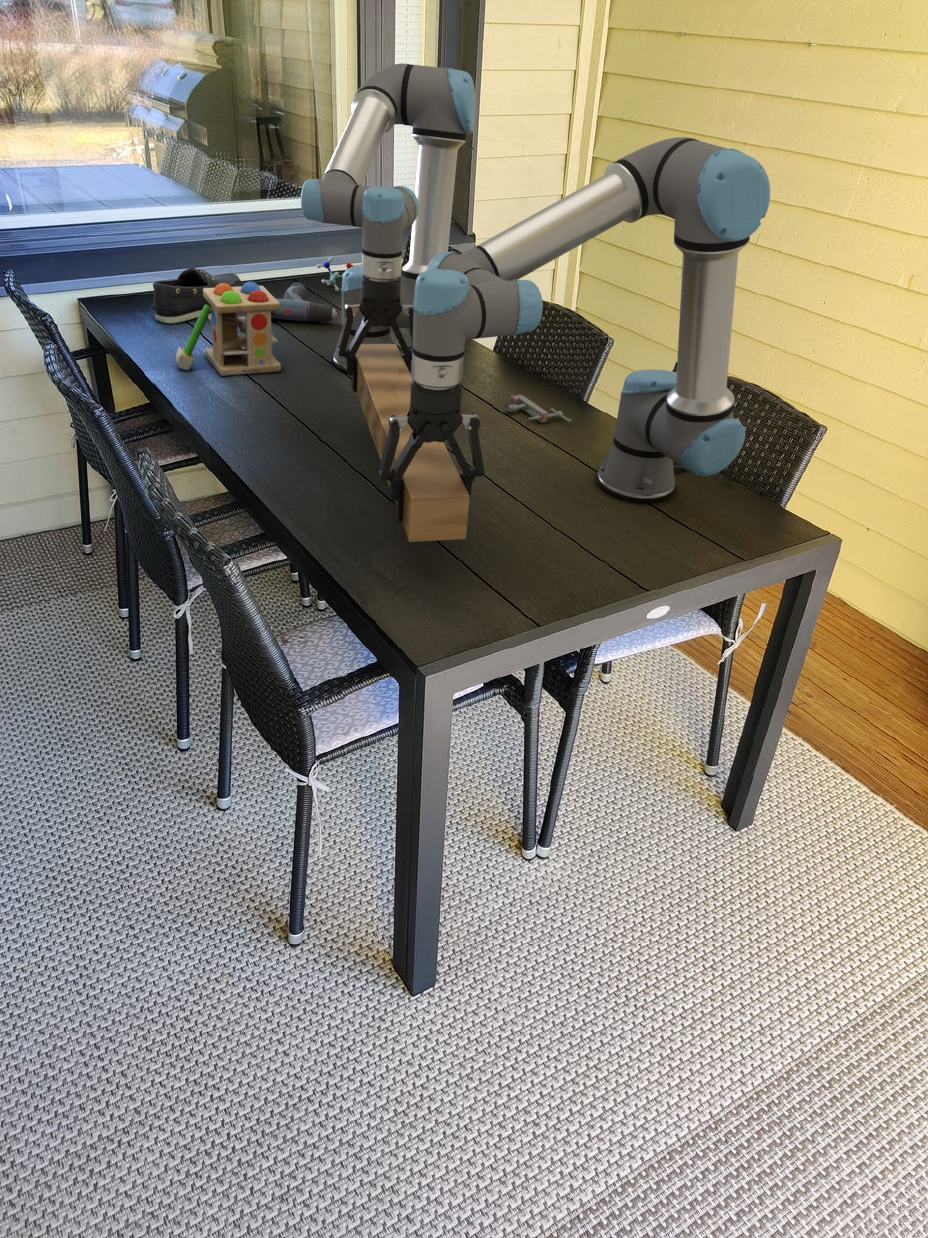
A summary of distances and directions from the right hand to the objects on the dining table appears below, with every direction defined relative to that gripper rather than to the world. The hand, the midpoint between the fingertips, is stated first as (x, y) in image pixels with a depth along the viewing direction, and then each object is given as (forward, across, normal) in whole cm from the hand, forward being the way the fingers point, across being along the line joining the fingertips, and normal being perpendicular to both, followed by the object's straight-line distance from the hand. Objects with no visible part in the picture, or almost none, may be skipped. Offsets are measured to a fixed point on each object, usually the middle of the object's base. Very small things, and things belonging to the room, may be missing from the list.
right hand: (429, 515), depth 157 cm
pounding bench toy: (+10, -30, +94) cm, 99 cm away
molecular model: (+11, +3, +158) cm, 159 cm away
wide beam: (+1, 0, +27) cm, 27 cm away
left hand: (0, 0, +53) cm, 53 cm away
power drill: (+11, -8, +134) cm, 134 cm away
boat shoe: (+10, -35, +137) cm, 142 cm away
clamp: (+11, +37, +62) cm, 73 cm away
